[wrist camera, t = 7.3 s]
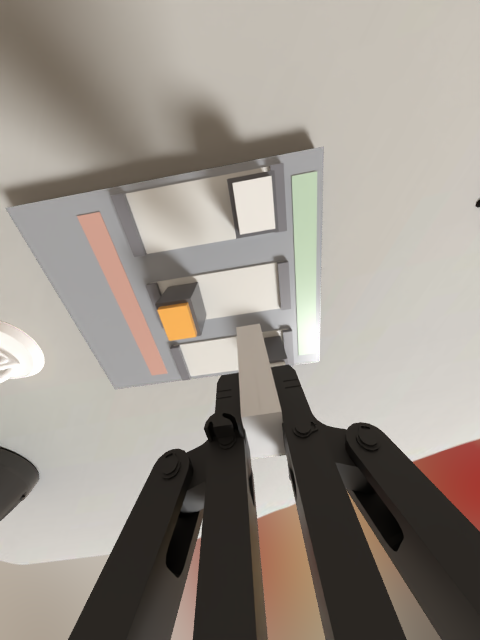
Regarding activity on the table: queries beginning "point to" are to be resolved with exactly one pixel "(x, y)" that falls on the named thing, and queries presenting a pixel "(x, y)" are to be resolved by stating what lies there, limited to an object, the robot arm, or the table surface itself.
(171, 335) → the breaker mid
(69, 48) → the table surface
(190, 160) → the table surface
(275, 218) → the block
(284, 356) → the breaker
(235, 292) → the panel
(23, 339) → the figurine
